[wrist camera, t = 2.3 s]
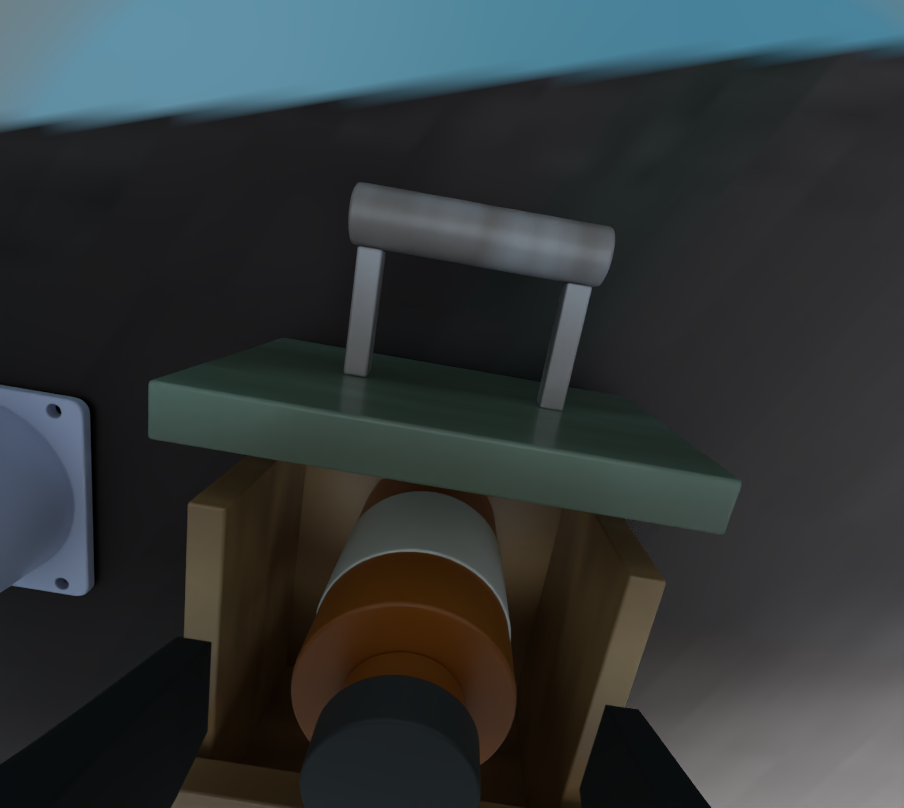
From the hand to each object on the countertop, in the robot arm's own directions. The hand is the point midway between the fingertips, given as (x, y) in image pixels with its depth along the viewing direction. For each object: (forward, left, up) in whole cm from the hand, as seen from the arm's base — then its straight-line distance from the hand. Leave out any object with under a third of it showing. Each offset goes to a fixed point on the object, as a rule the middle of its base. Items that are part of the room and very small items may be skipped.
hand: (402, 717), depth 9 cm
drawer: (0, +1, -8) cm, 8 cm away
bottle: (0, 0, -7) cm, 7 cm away
